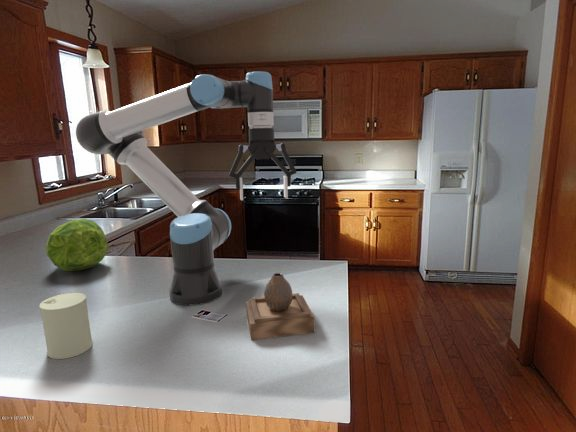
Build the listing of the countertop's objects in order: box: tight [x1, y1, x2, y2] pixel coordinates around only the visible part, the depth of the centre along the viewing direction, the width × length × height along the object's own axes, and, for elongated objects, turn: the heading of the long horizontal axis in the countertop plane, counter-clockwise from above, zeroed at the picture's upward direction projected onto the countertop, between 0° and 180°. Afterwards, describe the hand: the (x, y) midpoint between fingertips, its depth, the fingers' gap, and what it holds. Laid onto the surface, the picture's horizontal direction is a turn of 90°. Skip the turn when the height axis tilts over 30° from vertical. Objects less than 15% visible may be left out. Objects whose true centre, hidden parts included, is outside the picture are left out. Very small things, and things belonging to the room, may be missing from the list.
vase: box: [263, 272, 293, 312], centre depth 98 cm, size 7×7×9 cm
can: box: [38, 292, 94, 360], centre depth 90 cm, size 9×9×12 cm
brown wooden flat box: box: [245, 292, 315, 341], centre depth 99 cm, size 15×13×5 cm
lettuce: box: [45, 218, 109, 272], centre depth 144 cm, size 19×23×18 cm
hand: (264, 198), depth 123 cm, fingers open, 13 cm apart
